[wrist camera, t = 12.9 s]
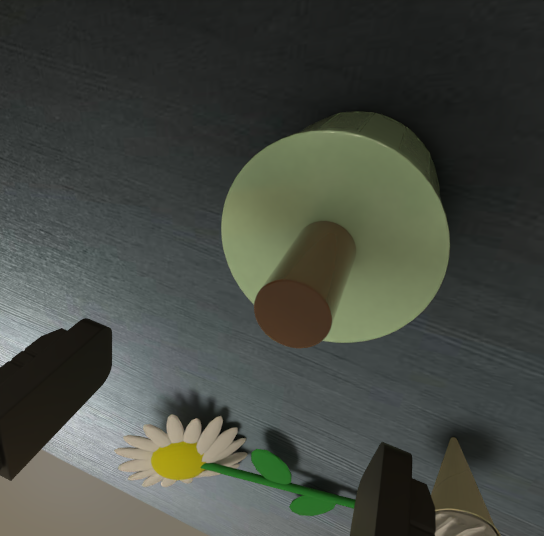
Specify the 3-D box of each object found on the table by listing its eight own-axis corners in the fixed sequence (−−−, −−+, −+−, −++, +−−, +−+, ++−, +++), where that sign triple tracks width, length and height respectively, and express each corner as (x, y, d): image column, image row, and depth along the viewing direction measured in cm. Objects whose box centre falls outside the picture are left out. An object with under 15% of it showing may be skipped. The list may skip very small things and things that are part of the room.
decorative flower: (436, 455, 39) (133, 381, 42) (444, 507, 35) (108, 421, 38) (398, 522, 46) (141, 454, 49) (401, 572, 42) (120, 494, 45)
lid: (193, 227, 24) (112, 288, 18) (334, 68, 18) (285, 80, 12) (327, 360, 25) (295, 460, 19) (502, 255, 19) (535, 352, 13)
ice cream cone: (500, 452, 34) (542, 694, 21) (441, 466, 36) (448, 688, 24) (466, 409, 33) (489, 634, 20) (409, 426, 36) (398, 634, 23)
